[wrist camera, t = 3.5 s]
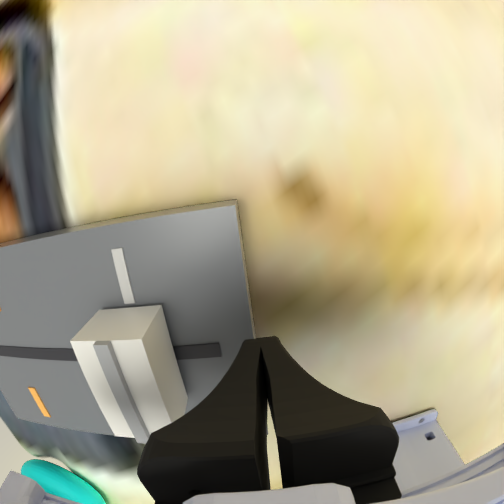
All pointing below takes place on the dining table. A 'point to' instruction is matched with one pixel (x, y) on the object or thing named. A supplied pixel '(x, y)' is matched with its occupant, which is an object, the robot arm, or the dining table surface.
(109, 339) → the fader
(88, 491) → the donuts
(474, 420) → the dining table surface
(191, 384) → the console
